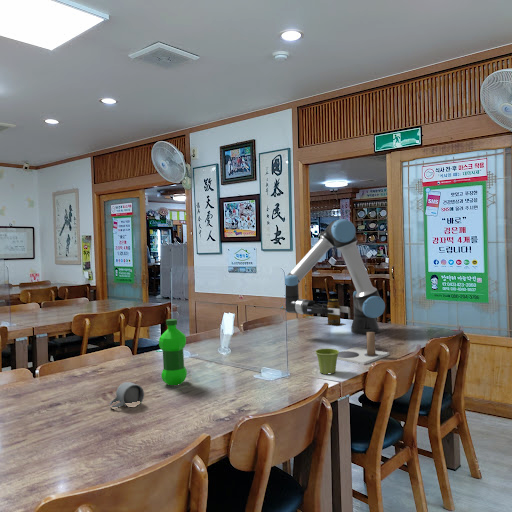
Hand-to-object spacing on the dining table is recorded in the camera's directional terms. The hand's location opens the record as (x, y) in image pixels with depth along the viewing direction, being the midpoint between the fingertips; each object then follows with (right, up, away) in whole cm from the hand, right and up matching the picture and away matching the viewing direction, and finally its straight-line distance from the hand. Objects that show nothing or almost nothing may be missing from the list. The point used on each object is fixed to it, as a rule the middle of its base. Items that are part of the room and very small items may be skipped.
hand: (343, 310), depth 223 cm
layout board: (+5, -19, -12) cm, 23 cm away
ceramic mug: (-86, -25, -62) cm, 109 cm away
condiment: (-3, -7, +4) cm, 9 cm away
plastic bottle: (-73, -24, -40) cm, 87 cm away
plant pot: (-13, -21, -34) cm, 42 cm away
